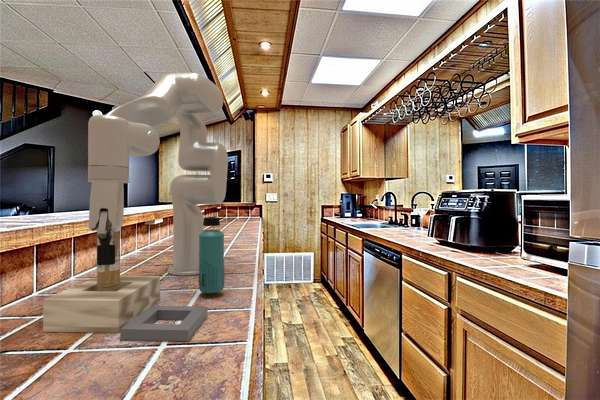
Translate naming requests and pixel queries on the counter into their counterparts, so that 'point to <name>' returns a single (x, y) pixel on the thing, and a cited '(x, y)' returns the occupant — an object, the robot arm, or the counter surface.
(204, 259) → the beverage bottle
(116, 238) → the sprinkles bottle
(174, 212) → the robot arm
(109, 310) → the birch dock block
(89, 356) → the counter surface
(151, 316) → the charcoal collar
